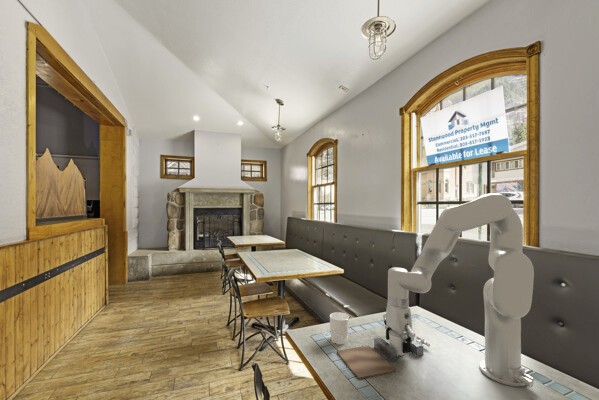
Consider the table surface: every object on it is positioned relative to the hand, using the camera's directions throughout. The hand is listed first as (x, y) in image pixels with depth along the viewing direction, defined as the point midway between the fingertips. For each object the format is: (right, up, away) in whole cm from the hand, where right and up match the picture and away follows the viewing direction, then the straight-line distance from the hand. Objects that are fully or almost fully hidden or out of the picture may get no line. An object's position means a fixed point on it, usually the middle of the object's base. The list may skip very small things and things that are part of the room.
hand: (397, 345), depth 102 cm
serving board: (-14, -2, -7) cm, 16 cm away
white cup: (-21, -2, +8) cm, 23 cm away
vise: (+2, -2, +1) cm, 3 cm away
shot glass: (0, -2, 0) cm, 2 cm away
